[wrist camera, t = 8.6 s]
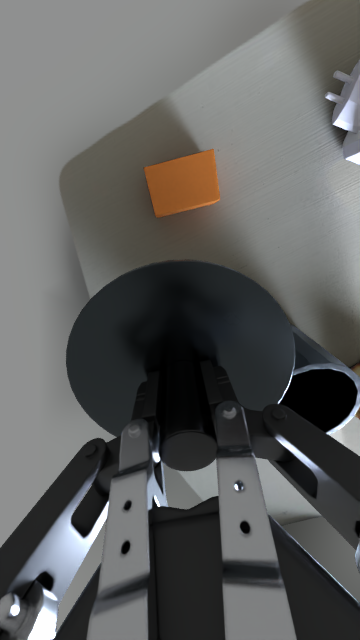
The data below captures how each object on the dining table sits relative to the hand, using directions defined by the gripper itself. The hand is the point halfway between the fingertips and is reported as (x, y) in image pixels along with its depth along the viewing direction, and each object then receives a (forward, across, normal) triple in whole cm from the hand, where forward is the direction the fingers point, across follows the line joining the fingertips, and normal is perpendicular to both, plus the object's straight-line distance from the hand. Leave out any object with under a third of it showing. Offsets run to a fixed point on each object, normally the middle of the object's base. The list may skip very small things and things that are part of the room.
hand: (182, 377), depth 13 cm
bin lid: (+1, 0, 0) cm, 1 cm away
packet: (+21, -4, -13) cm, 25 cm away
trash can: (+21, -14, +16) cm, 30 cm away
